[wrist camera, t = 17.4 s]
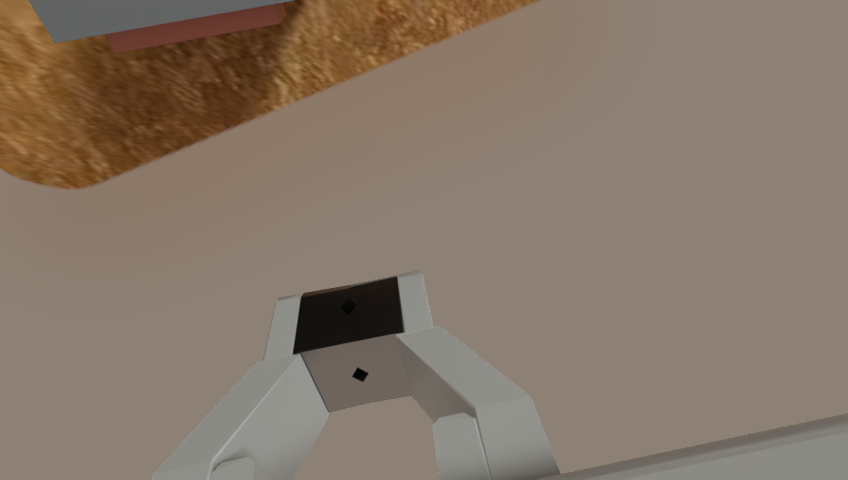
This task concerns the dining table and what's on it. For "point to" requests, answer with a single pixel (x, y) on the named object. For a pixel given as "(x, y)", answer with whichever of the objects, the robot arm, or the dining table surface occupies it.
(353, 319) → the robot arm
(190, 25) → the red button
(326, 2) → the dining table surface
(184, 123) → the dining table surface
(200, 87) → the dining table surface
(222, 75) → the dining table surface
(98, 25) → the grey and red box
